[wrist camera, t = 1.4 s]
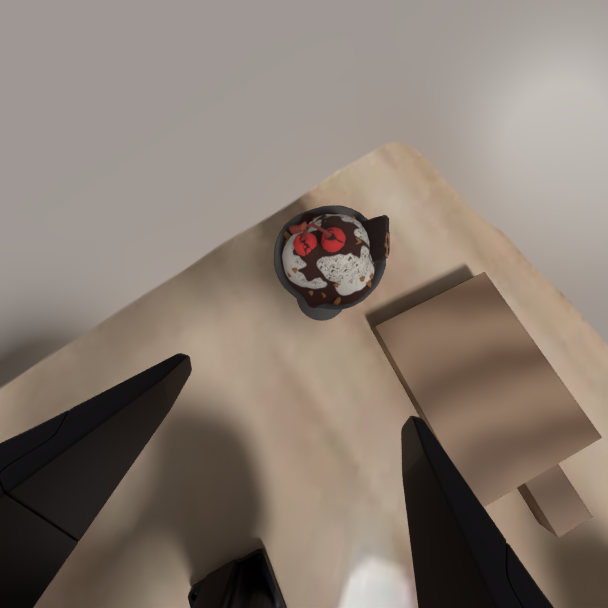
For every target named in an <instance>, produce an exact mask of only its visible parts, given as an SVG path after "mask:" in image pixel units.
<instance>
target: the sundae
mask: <svg viewBox="0 0 608 608" xmlns="http://www.w3.org/2000/svg"><path fill="white" fill-rule="evenodd" d="M389 249H390V234H389V218H388V217H387V216H386V215H383V216H379V217H375V218H372V219H369V220H368V219H367V218H365V217H364V216H363V215H362V214H361V213H359V212H357V211H355V210H353V209H351V208H347V207H344V206H323V207H319V208H315V209H312V210H309V211H306V212H304V213H301V214H299V215H297V216H296V217H294V218H293V219H291V220H290V221H289V222H288V223H287V224H286V225H285V226H284V227H283V229H282V231H281V232H280V234H279V236H278V239H277V241H276V244H275V251H274V264H275V270H276V273H277V276H278V279H279V280H280V282H281V284H282V285H283V286H284V287H285V289H286V290H287V291H288V292H290V293H291V294H292V295H293V296H295V297H296V298H297V301H298V304H299V306H300V309H301V310H302V311H303V312H304V313H305V314H306V315H307V316H308V317H310V318H312V319H315V320H328V319H331V318H333V317H335V316H336V315H338V314H339V313H340V312H341V311H342V309H345V308H349V307H352V306H354V305H356V304H358V303H360V302H361V301H363V300H364V299H365V298H366V297H367V296H369V295H370V294H371V292H372V291H373V290H374V289H375V288H376V287H377V285H378V284H379V282H380V280H381V278H382V276H383V273H384V270H385V267H386V258H388V256H389Z"/></svg>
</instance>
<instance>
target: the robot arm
mask: <svg viewBox="0 0 608 608" xmlns="http://www.w3.org/2000/svg"><path fill="white" fill-rule="evenodd" d="M191 370H192V367H191V361H190V357H189V356H188V355H185V354H182V353H179V354H176V355H174V356H172V357H170V358H168V359H166V360H164V361H162V362H161V363H159V364H157V365H155V366H153V367H151V368H149V369H147V370H145V371H143V372H141V373H139V374H137V375H135V376H133V377H132V378H130V379H128V380H126V381H124V382H122V383H120V384H118V385H116V386H114V387H112V388H110V389H108V390H106V391H104V392H102V393H101V394H99V395H97V396H95V397H93V398H91V399H89V400H87V401H85V402H83V403H81V404H79V405H77V406H75V407H73V408H71V409H70V411H65V412H64V413H62V414H60V415H58V416H56V417H54V418H52V419H50V420H48V421H46V422H44V423H42V424H40V425H38V426H36V427H34V428H32V429H30V430H28V431H25V432H23V433H21V434H19V435H17V436H15V437H13V438H10V439H8V440H6V441H4V442H2V443H0V608H33V607H34V605H35V604H36V603H37V601H38V600H39V598H40V597H41V595H42V594H43V592H44V591H45V590H46V588H47V587H48V585H49V584H50V582H51V581H52V580H53V578H54V577H55V575H56V574H57V572H58V571H59V569H60V568H61V567H62V565H63V564H64V562H65V561H66V559H67V558H68V556H69V555H70V554H71V552H72V551H73V549H74V548H75V546H76V545H77V543H78V541H79V540H80V539H81V538H82V536H83V535H84V533H85V532H86V530H87V529H88V527H89V526H90V525H91V523H92V522H93V520H94V519H95V517H96V516H97V514H98V513H99V512H100V510H101V509H102V507H103V506H104V504H105V503H106V502H107V500H108V499H109V497H110V496H111V494H112V493H113V491H114V490H115V489H116V487H117V486H118V484H119V483H120V481H121V480H122V479H123V477H124V476H125V474H126V473H127V471H128V470H129V468H130V467H131V466H132V464H133V463H134V461H135V460H136V458H137V457H138V456H139V454H140V453H141V451H142V450H143V448H144V447H145V445H146V444H147V443H148V441H149V440H150V438H151V437H152V435H153V434H154V433H155V431H156V430H157V428H158V427H159V425H160V424H161V422H162V421H163V420H164V418H165V417H166V415H167V414H168V412H169V411H170V409H171V408H172V406H173V404H174V403H175V401H176V399H177V397H178V395H179V394H180V392H181V390H182V388H183V386H184V385H185V383H186V381H187V379H188V377H189V376H190V374H191ZM401 441H402V477H403V486H404V494H405V503H406V511H407V519H408V527H409V535H410V543H411V551H412V559H413V568H414V576H415V584H416V592H417V600H418V608H554V607H553V606H552V604H551V603H550V602H549V600H548V599H547V598H546V596H545V595H544V594H543V592H542V591H541V590H540V588H539V587H538V585H537V584H536V583H535V581H534V580H533V578H532V577H531V575H530V574H529V573H528V571H527V570H526V568H525V567H524V565H523V564H522V563H521V561H520V560H519V558H518V557H517V555H516V554H515V552H514V551H513V549H512V548H511V547H510V545H509V544H508V543H506V539H505V538H504V536H503V535H502V534H501V532H500V531H499V529H498V528H497V526H496V525H495V523H494V522H493V520H492V519H491V517H490V516H489V515H488V513H487V512H486V510H485V509H484V507H483V506H482V504H481V503H480V501H479V500H478V498H477V497H476V496H475V494H474V493H473V491H472V490H471V488H470V487H469V485H468V484H467V482H466V481H465V479H464V478H463V477H462V475H461V474H460V472H459V471H458V469H457V468H456V466H455V465H454V463H453V462H452V460H451V459H450V458H449V456H448V455H447V453H446V452H445V450H444V449H443V447H442V446H441V444H440V443H439V441H438V440H437V438H436V437H435V436H434V434H433V433H432V431H431V430H430V428H429V427H428V425H427V424H426V422H425V421H424V420H423V419H422V418H419V417H416V416H410V417H409V418H408V420H407V421H406V423H405V424H404V425H403V427H402V431H401ZM259 556H260V557H261V558H262V560H259V559H258V558H257V557H259ZM194 593H197V595H195V594H194ZM188 600H189V604H190V607H191V608H286V607H285V604H284V602H283V599H282V596H281V593H280V591H279V588H278V585H277V582H276V580H275V577H274V574H273V571H272V569H271V566H270V563H269V560H268V558H267V555H266V552H265V551H264V550H263V549H257V550H256V551H254V552H252V553H250V554H248V555H247V556H245V557H243V558H241V559H239V560H236V559H235V560H233V561H231V562H229V563H228V564H226V565H224V566H222V567H220V568H219V569H217V570H215V571H213V572H211V573H210V574H208V575H207V577H206V578H205V579H203V580H202V581H200V582H198V583H196V584H195V585H193V586H192V588H191V590H190V592H189V595H188Z"/></svg>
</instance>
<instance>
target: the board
mask: <svg viewBox="0 0 608 608" xmlns="http://www.w3.org/2000/svg"><path fill="white" fill-rule="evenodd" d="M371 329H372V331H373V332H374V334H375V336H376V338H377V340H378V342H379V343H380V345H381V347H382V349H383V351H384V352H385V354H386V356H387V358H388V360H389V361H390V363H391V365H392V367H393V369H394V370H395V372H396V374H397V376H398V378H399V380H400V381H401V383H402V385H403V387H404V389H405V390H406V392H407V394H408V396H409V398H410V399H411V401H412V403H413V405H414V407H415V408H416V410H417V412H418V414H419V416H420V418H422V419H423V420H424V421H425V422H426V424H427V425H428V427H429V428H430V430H431V431H432V433H433V434H434V436H435V437H436V438H437V440H438V441H439V443H440V444H441V446H442V447H443V449H444V450H445V452H446V453H447V455H448V456H449V458H450V459H451V460H452V462H453V463H454V465H455V466H456V468H457V469H458V471H459V472H460V474H461V475H462V477H463V478H464V479H465V481H466V482H467V484H468V485H469V487H470V488H471V490H472V491H473V493H474V494H475V496H476V497H477V498H478V500H479V501H480V503H481V504H482V506H483V507H485V506H486V505H488V504H490V503H492V502H493V501H495V500H497V499H498V498H500V497H502V496H503V495H505V494H507V493H509V492H510V491H512V490H514V489H515V488H518V489H519V491H520V493H521V494H522V496H523V498H524V499H525V501H526V503H527V504H528V506H529V508H530V509H531V511H532V512H533V514H534V516H535V517H536V519H537V521H538V522H539V524H540V525H542V526H543V527H545V528H546V529H547V530H549V531H550V532H551V533H553V534H554V535H555V536H557V537H558V538H559V537H561V536H562V535H564V534H565V533H567V532H569V531H570V530H572V529H574V528H575V527H577V526H578V525H580V524H582V523H583V522H585V521H587V520H588V519H590V518H591V517H593V516H592V515H591V513H590V512H589V510H588V509H587V507H586V506H585V504H584V503H583V501H582V500H581V498H580V496H579V495H578V493H577V492H576V490H575V489H574V487H573V486H572V484H571V483H570V481H569V480H568V478H567V477H566V475H565V473H564V472H563V470H562V469H561V467H560V466H559V464H558V463H560V462H561V461H563V460H565V459H566V458H568V457H570V456H572V455H573V454H575V453H577V452H578V451H580V450H582V449H583V448H585V447H587V446H589V445H590V444H592V443H594V442H595V441H597V440H599V439H600V438H602V437H601V435H600V434H599V433H598V431H597V430H596V428H595V427H594V426H593V424H592V423H591V421H590V420H589V418H588V417H587V416H586V414H585V413H584V411H583V410H582V409H581V407H580V406H579V404H578V403H577V402H576V400H575V399H574V397H573V396H572V394H571V393H570V392H569V390H568V389H567V387H566V386H565V385H564V383H563V382H562V380H561V379H560V377H559V376H558V375H557V373H556V372H555V370H554V369H553V368H552V366H551V365H550V363H549V362H548V361H547V359H546V358H545V356H544V355H543V353H542V352H541V351H540V349H539V348H538V346H537V345H536V344H535V342H534V341H533V339H532V338H531V337H530V335H529V334H528V332H527V331H526V329H525V328H524V327H523V325H522V324H521V322H520V321H519V320H518V318H517V317H516V315H515V314H514V313H513V311H512V310H511V308H510V307H509V305H508V304H507V303H506V301H505V300H504V298H503V297H502V296H501V294H500V293H499V291H498V290H497V288H496V287H495V286H494V284H493V283H492V281H491V280H490V279H489V277H488V276H487V274H486V273H485V272H483V273H481V274H479V275H477V276H475V277H473V278H471V279H469V280H467V281H465V282H463V283H461V284H459V285H457V286H455V287H453V288H451V289H449V290H447V291H445V292H443V293H441V294H439V295H437V296H435V297H433V298H431V299H429V300H427V301H425V302H423V303H421V304H419V305H417V306H415V307H413V308H411V309H409V310H407V311H405V312H403V313H401V314H399V315H397V316H395V317H393V318H391V319H388V320H386V321H384V322H382V323H380V324H378V325H376V326H374V327H372V328H371Z"/></svg>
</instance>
